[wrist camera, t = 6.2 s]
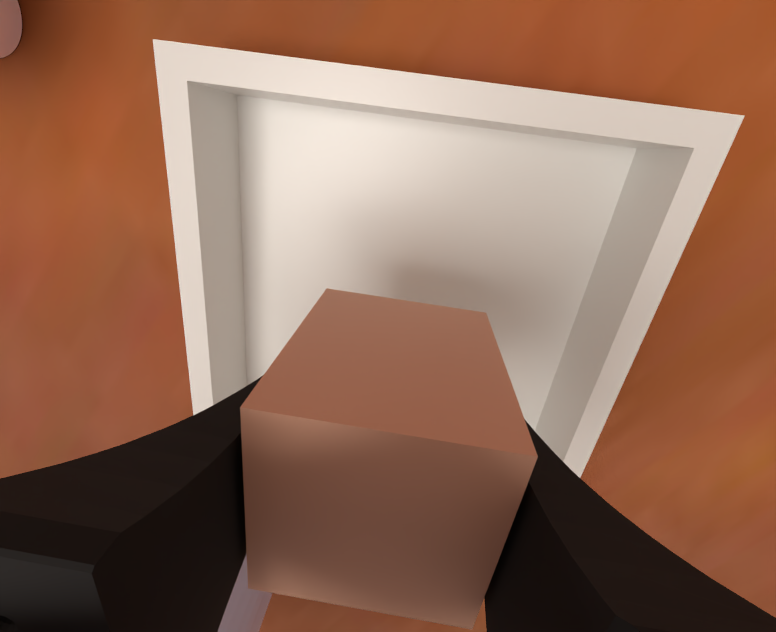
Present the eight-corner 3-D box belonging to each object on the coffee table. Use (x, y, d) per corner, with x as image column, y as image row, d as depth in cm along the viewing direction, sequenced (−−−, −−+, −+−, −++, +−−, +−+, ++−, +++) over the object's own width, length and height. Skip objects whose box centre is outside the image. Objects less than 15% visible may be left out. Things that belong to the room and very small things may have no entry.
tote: (535, 466, 22) (556, 528, 18) (235, 416, 23) (199, 467, 19) (666, 124, 15) (744, 115, 11) (217, 65, 15) (153, 39, 12)
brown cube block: (454, 438, 14) (472, 629, 8) (318, 415, 14) (248, 588, 8) (486, 312, 12) (537, 456, 6) (326, 288, 12) (240, 407, 6)
